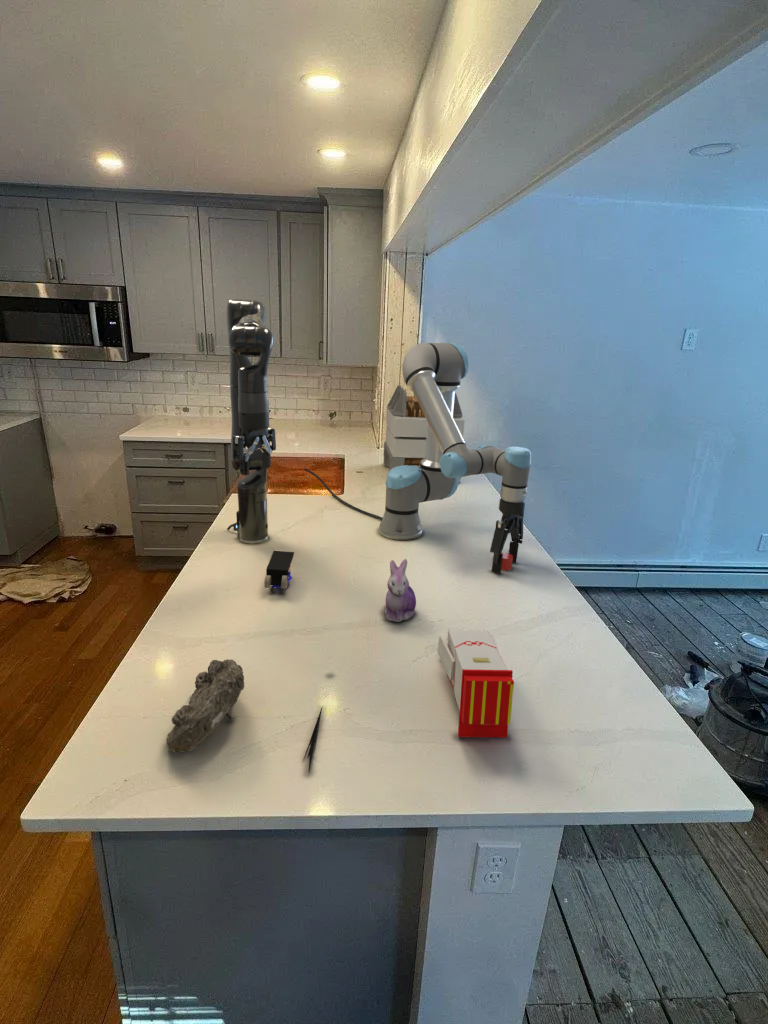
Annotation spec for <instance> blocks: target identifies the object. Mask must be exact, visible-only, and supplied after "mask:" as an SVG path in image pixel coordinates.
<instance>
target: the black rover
mask: <svg viewBox="0 0 768 1024" xmlns="http://www.w3.org/2000/svg"><path fill="white" fill-rule="evenodd" d="M294 557H295V551H284V550H273V551H272V554H271V556H270V559H269V561H268V564H267V566H266V569H265V571H266V574H265V577H264V588H265V589H270V590H269V592H270V593H274V590H275V588H277V589H280V593H281V594H283V593H284V591H285V589H287V587H288V586H289V582H290V581H291V580H292V579H293V577H292V575H291V574H292V573H291V572H292V565H291V564H292V563H293V562H292V561H293V558H294Z"/></svg>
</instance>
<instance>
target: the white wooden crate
mask: <svg viewBox="0 0 768 1024" xmlns="http://www.w3.org/2000/svg"><path fill="white" fill-rule="evenodd" d="M407 394H408V393H407V390H406V389H404V388H403V387H402V385H399V384H398V385H397V386H396V388H395V390H394V392H393V394H392V395H391V398H390V400H389V402H388V404H387V405H386V413H385V414H386V415H385V423H386V428H385V438H384V442H383V466H384V467H388V468H389V471H390V470H391V469H392V468H395V467H398V466H403V465H406V466H408V465H412V466H417V467H420V461H421V460H423V459H424V458H425V449H426V435H427V420H426V418H425V415H424V413H423V411H422V409H421V407H420V405H419V403H418V401H417V399H416V397H415V395H414V396H413V395H412V396H411V395H407ZM453 419H454V421H455V423H456V425H457V427H458V429H459V431H460V434H461V436H462V438H463V439H464V431H465V430H464V429H465V419H464V418H463V411H462V408H461V405H460V402H459V398H458V395H457V392H455V398H454V409H453ZM459 483H461V478H459V482H458V484H459Z"/></svg>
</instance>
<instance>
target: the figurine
mask: <svg viewBox="0 0 768 1024" xmlns="http://www.w3.org/2000/svg"><path fill="white" fill-rule="evenodd" d="M407 567H408V559H406V558H404V559H403V560H402V561H401V563H400V565H399V566H398V565H397V563H396V562H395V561H394V560H393V559H391V560H390V561H389V570H390V576H389V578H388V579H387V589H388V591H387V592H386V594H385V595H386V596H385V607H384V615H385V616H386V620H387V621H391V622H395V623H400V622H402V621H406V620H409V619H410V618H411V617H413V616H414V615H415V610H416V606H417V597H416V593H415V591H414V590H413V587H411V586H410V582H409V579H408V577H407V574H406V571H407Z"/></svg>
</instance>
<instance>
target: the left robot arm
mask: <svg viewBox="0 0 768 1024" xmlns="http://www.w3.org/2000/svg"><path fill="white" fill-rule="evenodd" d="M267 318H268V317H267V309H266V306H265V304H264V303H263V302H262V301H260V300H255V299H252V300H251V299H240V298H239V299H238V298H230V299H229V300H228V301H227V305H226V324H227V335H228V346H229V347H228V348H229V392H230V393H229V394H230V395H229V396H230V413H231V434H230V437H231V438H230V461H231V465H232V468H233V469H234V470H235V471H236V472H240V475H242V476H245V477H243V478H241V479H240V480H238V481H237V485H236V487H237V504H238V505H237V506H238V510H237V511H236V512H235V515H236V522H234V523H232V524H229V526H228V527H227V528H226V530H227V531H230V529H231V528H232V529H233V532H236V534H237V535H236V536H237V539H238V540H239V541H241V542H242V543H244V544H260V543H264V542H266V541H267V540H269V521H268V519H269V518H268V491H267V490H268V489H267V487H268V486H267V485H268V469H270V468H271V463H272V462H271V461H272V460H271V459H272V458H271V457H272V456H271V455H272V453H273V451H276V450H277V442H276V441H277V440H276V439H277V438H276V429H275V428H271V427H270V402H269V401H270V400H269V395H268V369H269V362H270V359H271V355H272V352H273V348H274V341H275V340H274V335H273V332H272V330H271V329H270V328H268V327H267ZM250 357H257V358H258V360H257V362H255V363H253V362H252V361H251V359H250ZM250 471H251V472H250Z"/></svg>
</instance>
